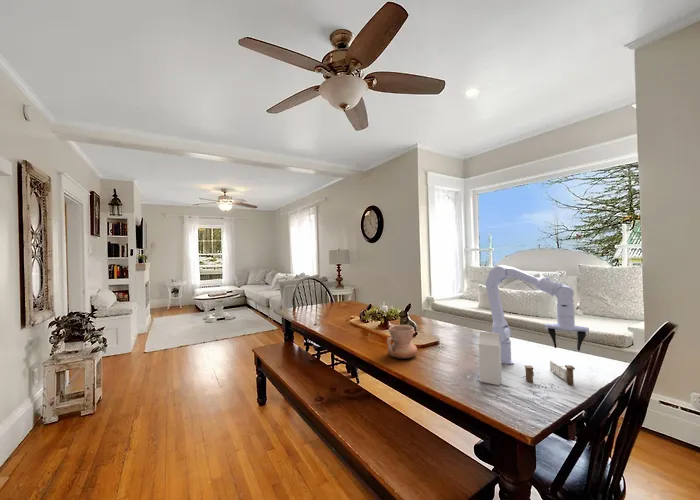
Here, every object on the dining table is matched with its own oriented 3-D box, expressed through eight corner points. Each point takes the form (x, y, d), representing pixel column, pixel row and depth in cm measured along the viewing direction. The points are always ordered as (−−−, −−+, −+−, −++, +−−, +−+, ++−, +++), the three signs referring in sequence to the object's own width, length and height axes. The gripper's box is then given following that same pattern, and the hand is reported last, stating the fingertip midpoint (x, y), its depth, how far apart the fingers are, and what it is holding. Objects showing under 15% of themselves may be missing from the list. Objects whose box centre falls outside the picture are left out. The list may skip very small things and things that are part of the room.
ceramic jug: (405, 348, 160) (404, 322, 160) (425, 356, 147) (424, 327, 147) (378, 356, 150) (377, 328, 150) (397, 365, 138) (396, 334, 138)
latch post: (526, 382, 116) (526, 367, 116) (525, 379, 118) (524, 365, 118) (534, 382, 115) (533, 368, 115) (532, 379, 118) (531, 365, 118)
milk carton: (499, 385, 114) (498, 335, 114) (479, 381, 118) (478, 333, 118) (501, 378, 120) (500, 331, 120) (482, 375, 124) (481, 329, 124)
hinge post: (568, 385, 112) (567, 367, 113) (565, 382, 115) (564, 365, 115) (575, 385, 112) (574, 368, 112) (572, 382, 114) (572, 365, 114)
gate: (569, 381, 115) (569, 370, 115) (566, 381, 115) (565, 370, 115) (553, 370, 125) (553, 360, 125) (550, 370, 125) (550, 360, 125)
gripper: (586, 314, 122) (588, 348, 122) (544, 311, 130) (545, 343, 129) (589, 318, 116) (590, 353, 116) (544, 315, 124) (545, 348, 124)
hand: (566, 348), depth 122 cm, fingers open, 7 cm apart
